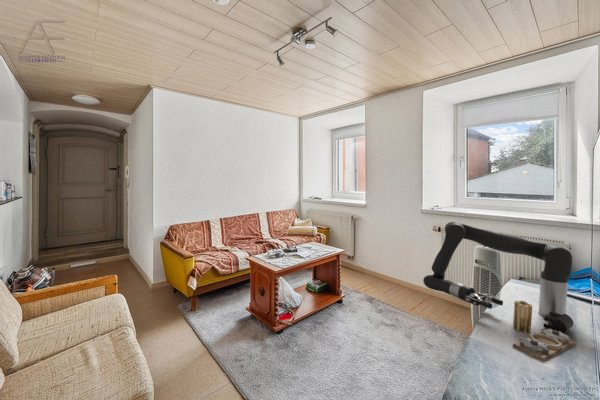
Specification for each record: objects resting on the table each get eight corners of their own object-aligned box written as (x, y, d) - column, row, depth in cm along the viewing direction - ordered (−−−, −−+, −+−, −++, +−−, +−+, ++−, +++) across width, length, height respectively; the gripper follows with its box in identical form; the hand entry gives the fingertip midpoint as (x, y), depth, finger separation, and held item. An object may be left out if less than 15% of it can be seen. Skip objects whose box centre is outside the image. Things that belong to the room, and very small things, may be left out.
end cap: (566, 338, 105) (567, 322, 105) (542, 330, 111) (543, 314, 111) (573, 332, 111) (574, 316, 110) (550, 324, 117) (551, 309, 116)
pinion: (517, 324, 115) (518, 298, 115) (533, 331, 110) (535, 303, 110) (509, 327, 113) (511, 300, 112) (526, 334, 108) (528, 305, 107)
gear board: (545, 332, 109) (546, 323, 109) (575, 344, 101) (576, 334, 101) (513, 346, 98) (513, 337, 98) (543, 361, 90) (544, 350, 90)
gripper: (453, 286, 131) (488, 299, 117) (470, 282, 137) (506, 294, 123) (452, 301, 131) (487, 315, 117) (470, 297, 138) (505, 310, 123)
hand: (497, 304), depth 120 cm, fingers open, 8 cm apart
